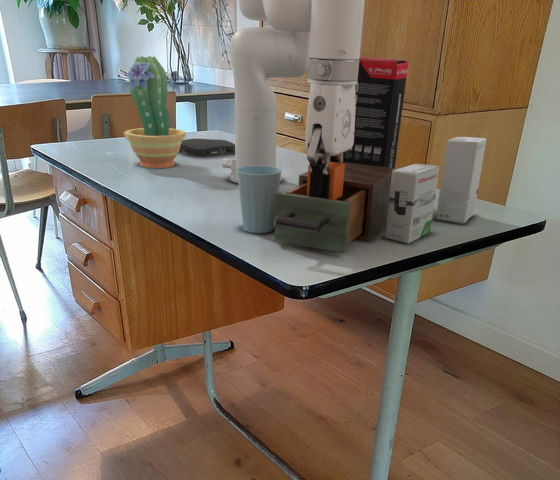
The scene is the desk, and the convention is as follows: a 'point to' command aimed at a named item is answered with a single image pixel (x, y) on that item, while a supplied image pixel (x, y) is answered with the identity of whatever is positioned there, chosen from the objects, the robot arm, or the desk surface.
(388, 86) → the graphics card box
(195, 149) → the media streaming box
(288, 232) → the two-tone handled box
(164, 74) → the potted cactus
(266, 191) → the cup
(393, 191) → the ink box
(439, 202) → the cosmetic box
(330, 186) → the plain orange cube
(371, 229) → the cabinet
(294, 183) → the desk surface
